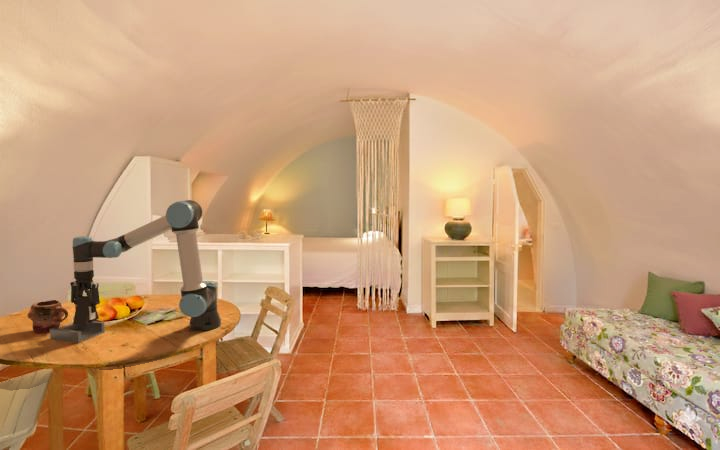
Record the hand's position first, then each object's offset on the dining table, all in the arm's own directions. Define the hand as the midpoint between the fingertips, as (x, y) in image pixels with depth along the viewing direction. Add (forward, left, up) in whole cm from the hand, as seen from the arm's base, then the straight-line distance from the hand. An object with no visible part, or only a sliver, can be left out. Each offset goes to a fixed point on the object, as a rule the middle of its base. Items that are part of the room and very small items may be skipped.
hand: (86, 318), depth 189 cm
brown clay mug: (+24, -2, -9) cm, 26 cm away
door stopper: (0, 0, -2) cm, 2 cm away
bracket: (+5, 0, -9) cm, 11 cm away
